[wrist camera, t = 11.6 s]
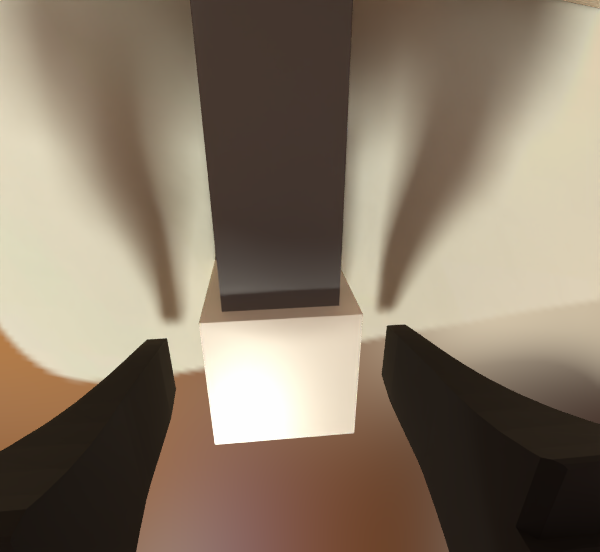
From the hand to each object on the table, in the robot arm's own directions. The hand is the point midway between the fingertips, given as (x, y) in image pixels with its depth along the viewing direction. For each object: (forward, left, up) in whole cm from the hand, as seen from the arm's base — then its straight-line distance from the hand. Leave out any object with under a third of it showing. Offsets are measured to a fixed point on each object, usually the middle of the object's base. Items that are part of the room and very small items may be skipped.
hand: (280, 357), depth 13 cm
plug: (+1, -5, -2) cm, 5 cm away
